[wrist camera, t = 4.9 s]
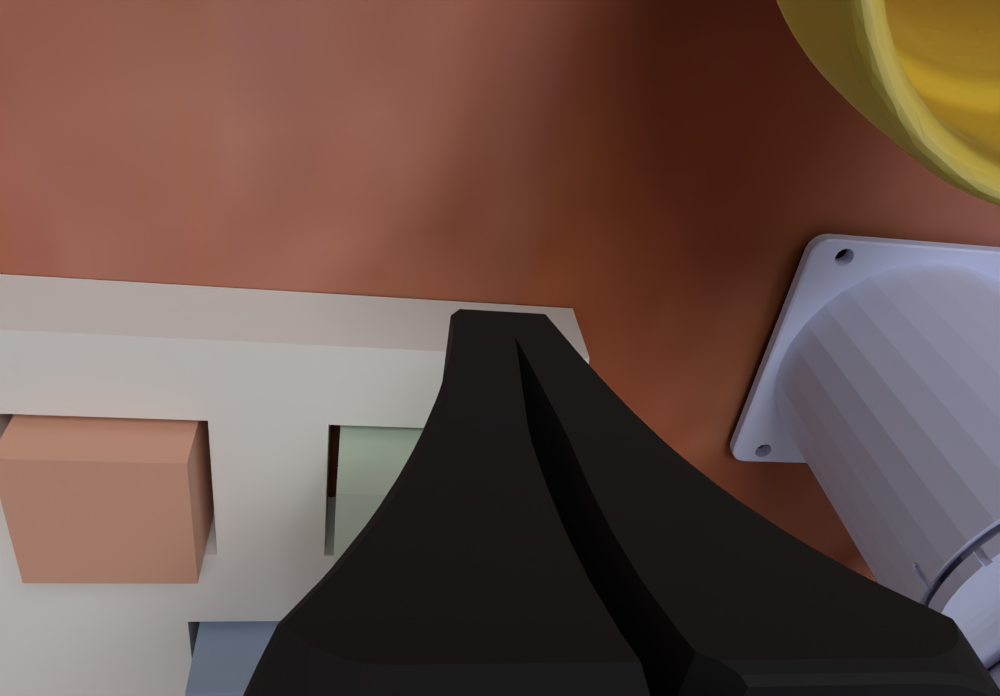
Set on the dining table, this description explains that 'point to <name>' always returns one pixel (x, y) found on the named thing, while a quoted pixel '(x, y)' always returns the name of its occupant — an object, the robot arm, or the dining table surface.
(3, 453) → the terracotta button
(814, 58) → the plant pot
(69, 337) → the white button panel
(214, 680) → the slate button
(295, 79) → the dining table surface
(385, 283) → the dining table surface
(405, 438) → the sage button
